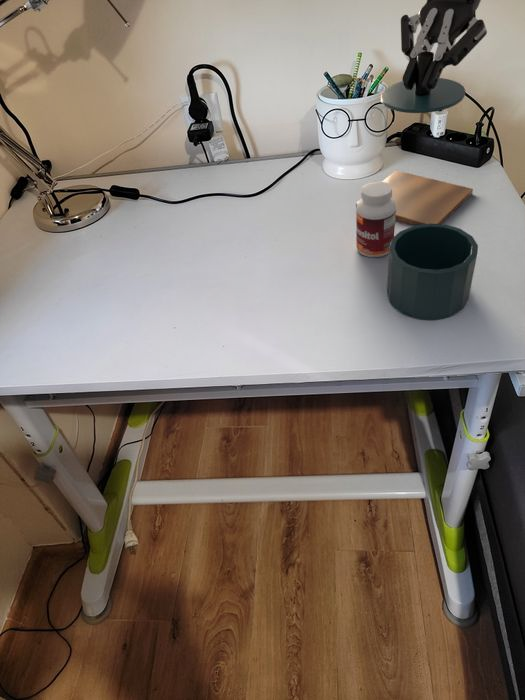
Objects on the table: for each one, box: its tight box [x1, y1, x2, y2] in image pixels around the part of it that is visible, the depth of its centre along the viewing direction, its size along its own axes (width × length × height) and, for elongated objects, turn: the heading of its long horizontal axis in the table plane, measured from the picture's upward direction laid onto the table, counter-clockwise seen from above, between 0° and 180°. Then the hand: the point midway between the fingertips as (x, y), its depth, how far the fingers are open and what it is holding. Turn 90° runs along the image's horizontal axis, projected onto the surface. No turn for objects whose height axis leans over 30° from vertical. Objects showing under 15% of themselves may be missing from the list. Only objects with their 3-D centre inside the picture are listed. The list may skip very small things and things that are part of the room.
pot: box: [386, 223, 479, 321], centre depth 73 cm, size 12×12×8 cm
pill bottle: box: [355, 180, 396, 258], centre depth 82 cm, size 6×6×11 cm
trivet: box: [355, 169, 474, 226], centre depth 94 cm, size 16×14×1 cm
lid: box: [380, 51, 466, 114], centre depth 78 cm, size 13×13×7 cm
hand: (416, 88), depth 77 cm, fingers closed on lid, 2 cm apart
